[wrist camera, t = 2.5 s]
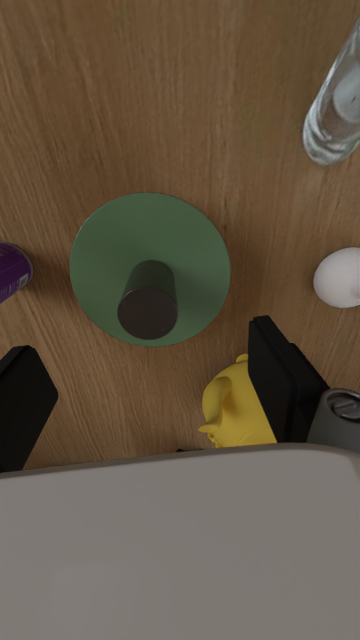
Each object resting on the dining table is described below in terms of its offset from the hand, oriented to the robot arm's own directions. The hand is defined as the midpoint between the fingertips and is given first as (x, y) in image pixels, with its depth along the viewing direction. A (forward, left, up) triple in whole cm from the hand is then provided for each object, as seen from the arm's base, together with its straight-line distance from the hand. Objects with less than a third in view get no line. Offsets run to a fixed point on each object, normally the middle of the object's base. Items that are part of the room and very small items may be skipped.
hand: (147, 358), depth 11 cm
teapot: (+21, -2, -16) cm, 27 cm away
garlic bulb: (+13, +15, -16) cm, 26 cm away
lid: (0, 0, -10) cm, 10 cm away
